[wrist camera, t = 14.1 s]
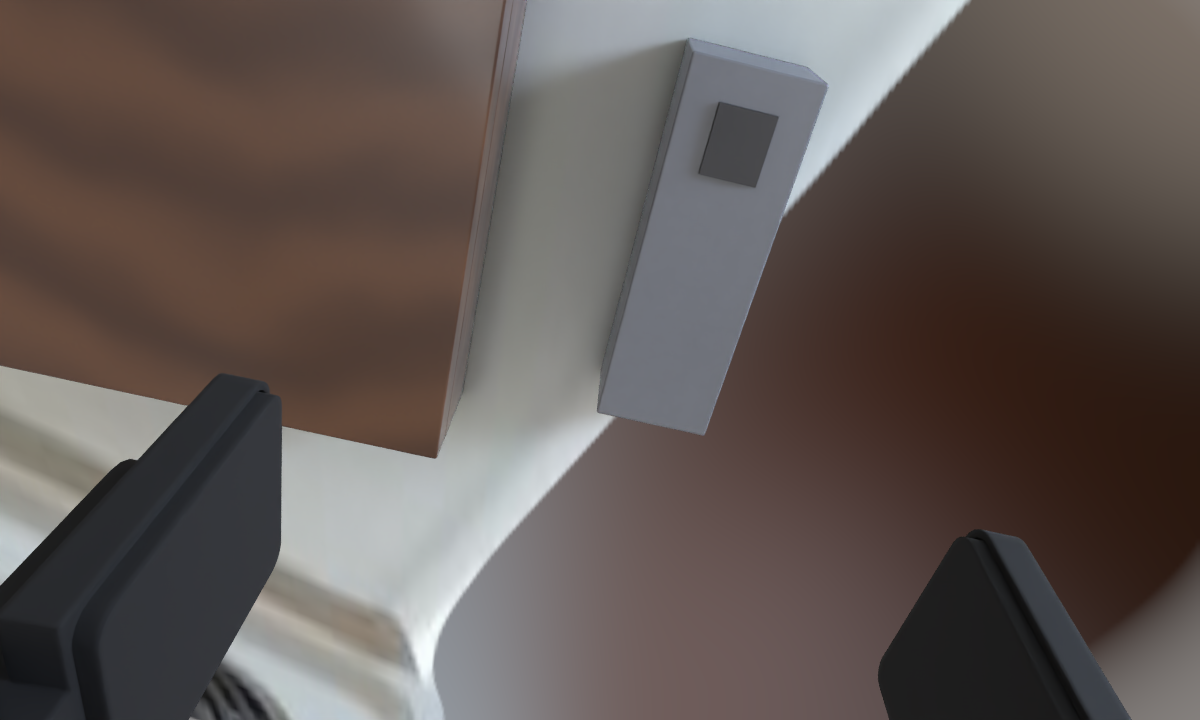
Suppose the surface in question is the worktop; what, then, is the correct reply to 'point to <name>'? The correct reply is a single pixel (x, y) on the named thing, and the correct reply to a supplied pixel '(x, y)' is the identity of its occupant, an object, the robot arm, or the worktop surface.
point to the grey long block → (706, 231)
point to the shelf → (254, 199)
